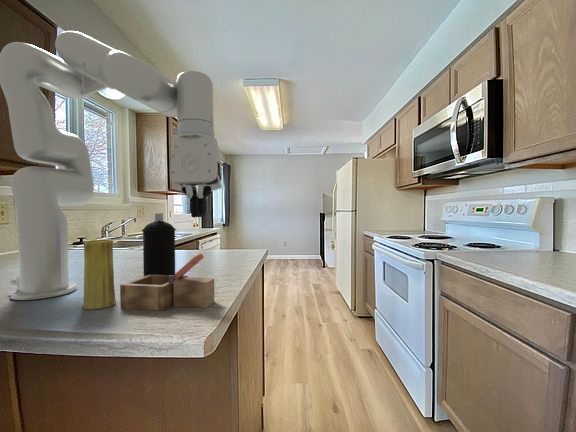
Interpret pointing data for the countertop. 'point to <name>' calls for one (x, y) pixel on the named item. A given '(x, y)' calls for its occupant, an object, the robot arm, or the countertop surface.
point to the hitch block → (166, 292)
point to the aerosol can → (159, 247)
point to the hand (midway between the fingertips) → (198, 216)
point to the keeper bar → (188, 266)
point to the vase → (98, 274)
